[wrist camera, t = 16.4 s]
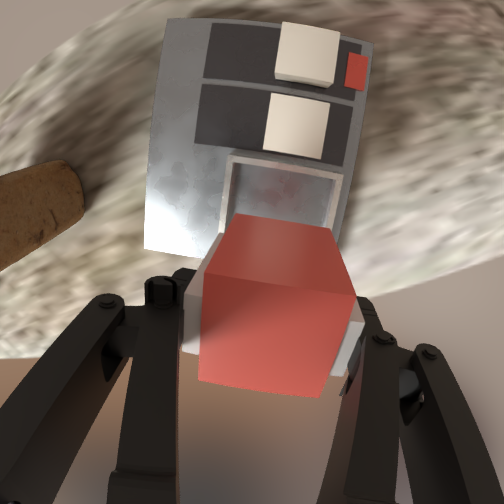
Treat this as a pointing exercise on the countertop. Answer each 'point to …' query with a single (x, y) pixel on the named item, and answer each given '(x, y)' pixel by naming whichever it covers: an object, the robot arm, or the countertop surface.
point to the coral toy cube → (273, 307)
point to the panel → (242, 135)
